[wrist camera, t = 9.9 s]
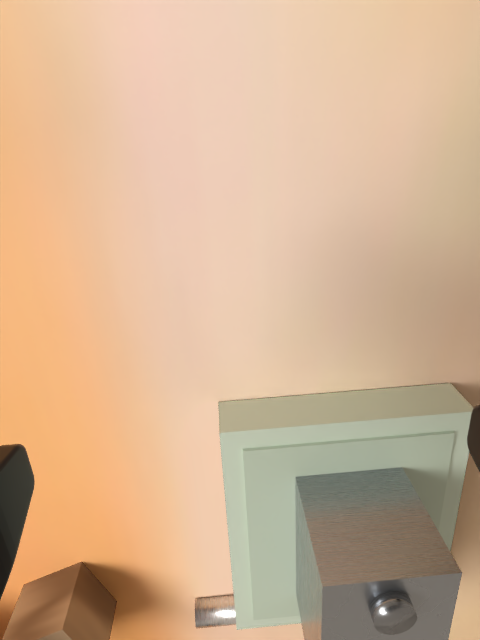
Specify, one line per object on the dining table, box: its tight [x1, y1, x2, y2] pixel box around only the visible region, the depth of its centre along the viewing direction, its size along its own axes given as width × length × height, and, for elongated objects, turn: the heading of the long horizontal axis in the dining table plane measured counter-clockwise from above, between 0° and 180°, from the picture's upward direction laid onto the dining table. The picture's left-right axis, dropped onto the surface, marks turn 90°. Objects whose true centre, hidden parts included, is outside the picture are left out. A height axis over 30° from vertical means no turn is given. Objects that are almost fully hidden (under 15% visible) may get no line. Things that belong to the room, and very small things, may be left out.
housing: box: [295, 467, 462, 640], centre depth 20 cm, size 5×8×6 cm, turn 3°
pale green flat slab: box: [218, 383, 473, 630], centre depth 25 cm, size 12×14×3 cm
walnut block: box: [2, 562, 117, 640], centre depth 26 cm, size 4×4×4 cm
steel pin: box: [195, 595, 236, 629], centre depth 28 cm, size 7×2×2 cm
